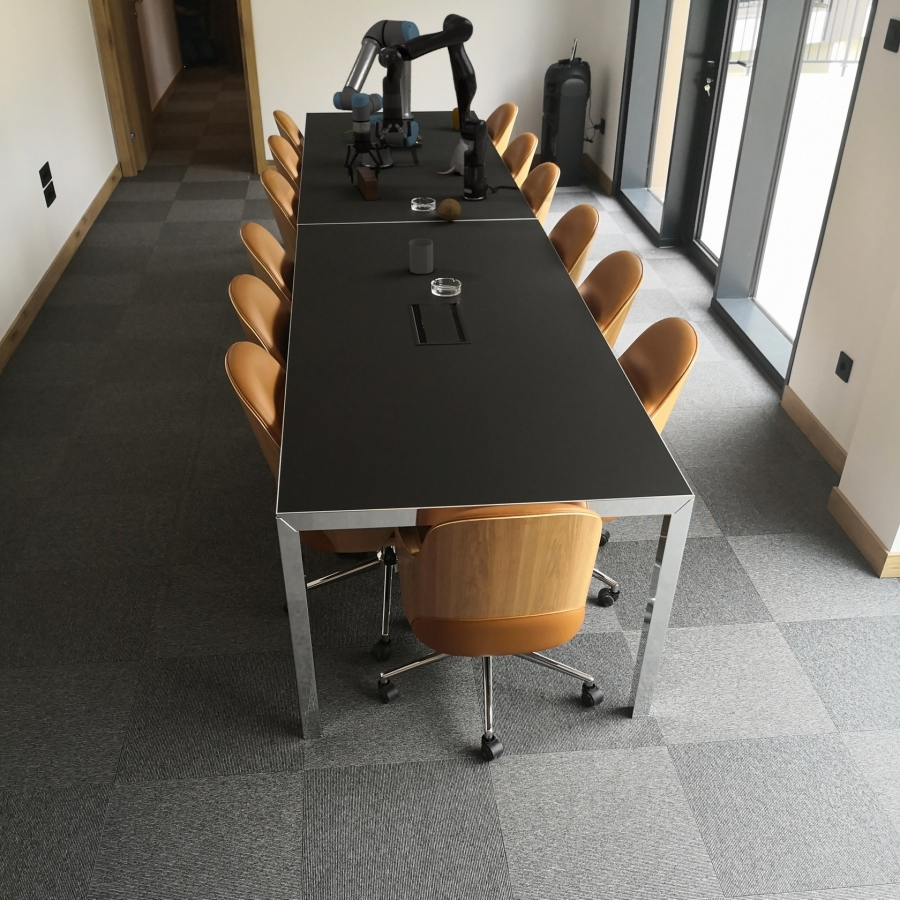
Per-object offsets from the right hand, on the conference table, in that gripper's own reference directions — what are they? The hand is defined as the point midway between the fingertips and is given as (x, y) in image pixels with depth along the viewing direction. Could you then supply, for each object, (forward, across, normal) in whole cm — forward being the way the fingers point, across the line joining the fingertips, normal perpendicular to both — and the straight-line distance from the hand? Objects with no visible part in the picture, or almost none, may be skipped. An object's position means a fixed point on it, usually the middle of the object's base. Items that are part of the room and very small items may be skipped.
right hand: (393, 148), depth 344 cm
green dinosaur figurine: (+28, +4, +129) cm, 132 cm away
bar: (+28, -8, +37) cm, 47 cm away
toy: (+28, +36, +58) cm, 73 cm away
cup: (+28, +1, -62) cm, 68 cm away
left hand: (+25, -8, +45) cm, 52 cm away
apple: (+28, +57, +148) cm, 161 cm away
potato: (+28, +21, -8) cm, 36 cm away
